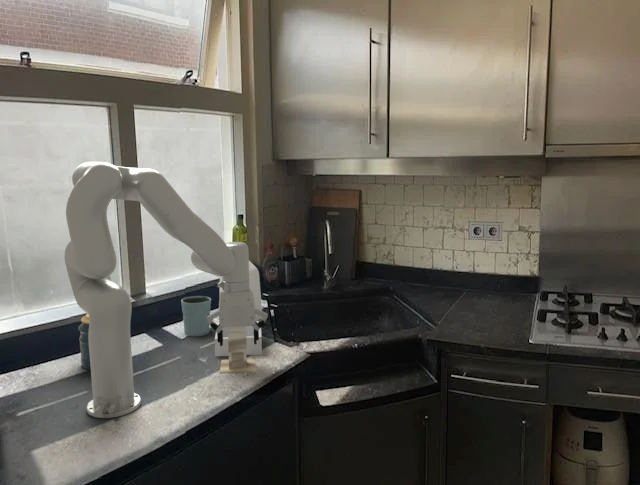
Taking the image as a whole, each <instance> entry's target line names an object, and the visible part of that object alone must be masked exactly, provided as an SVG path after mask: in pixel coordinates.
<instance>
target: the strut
mask: <svg viewBox="0 0 640 485" xmlns="http://www.w3.org/2000/svg"><path fill="white" fill-rule="evenodd" d="M228 350H229V356H228V359H229V369H244V368H247V359H248V355H247V344H246V326H234V327H228Z"/></svg>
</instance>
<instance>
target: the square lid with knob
mask: <svg viewBox="0 0 640 485" xmlns="http://www.w3.org/2000/svg"><path fill="white" fill-rule="evenodd" d="M256 368H257V366H256V357H254V358H253V357H252V358H250V357H249V358H248V357H247V368H244V369H229V358H228V359H221V361H220V368H219V374H233V373H235V374H236V373H237V374H238V373H251V372H252V373H253V372H254V373H256V371H257V370H256Z"/></svg>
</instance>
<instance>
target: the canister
mask: <svg viewBox="0 0 640 485" xmlns="http://www.w3.org/2000/svg"><path fill="white" fill-rule="evenodd" d="M80 322H81V324H79V326H78V328H77V329H78V331H80V336H79V339H78V340H79V347H80V348H79V349H80V363H81V365H82V366H81V367H82V368H83V369H85V370H88V371H91V365H90V352H89V340H88V333H89V314H87V313H86V314H85V315H84V316H82V317H81V319H80Z"/></svg>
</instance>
